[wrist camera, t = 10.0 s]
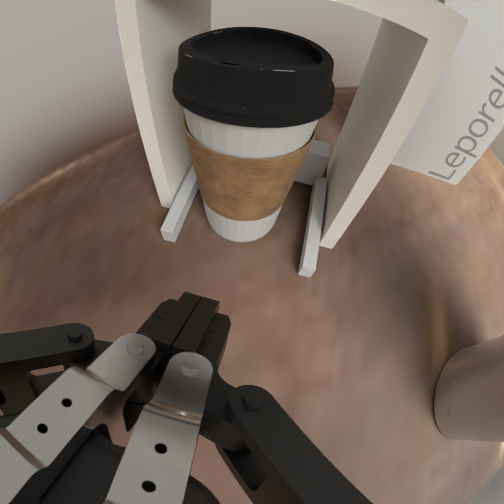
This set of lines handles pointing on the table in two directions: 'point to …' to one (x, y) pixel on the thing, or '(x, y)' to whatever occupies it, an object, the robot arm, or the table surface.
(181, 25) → the white rectangular frame
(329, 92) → the coffee cup
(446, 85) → the tall white box
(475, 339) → the table surface
